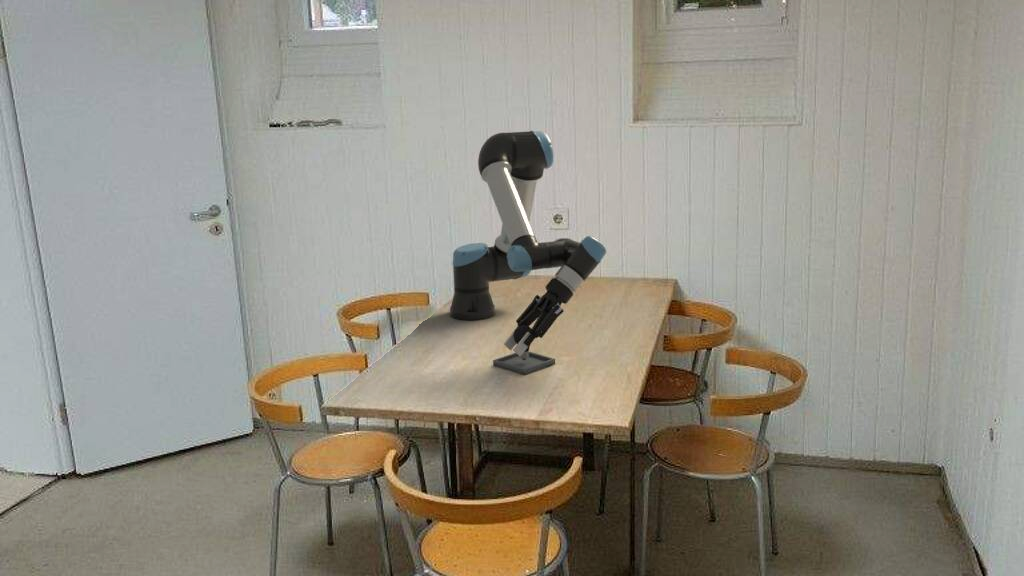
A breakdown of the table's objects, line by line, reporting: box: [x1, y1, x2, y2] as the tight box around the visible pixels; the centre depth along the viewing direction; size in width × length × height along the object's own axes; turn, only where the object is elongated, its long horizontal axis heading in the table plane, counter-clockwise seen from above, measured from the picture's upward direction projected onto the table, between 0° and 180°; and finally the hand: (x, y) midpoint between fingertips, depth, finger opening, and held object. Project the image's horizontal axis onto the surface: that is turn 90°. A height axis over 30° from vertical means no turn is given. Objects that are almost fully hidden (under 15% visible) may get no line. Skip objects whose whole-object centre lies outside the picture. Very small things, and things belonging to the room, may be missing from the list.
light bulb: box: [513, 325, 532, 360], centre depth 251 cm, size 6×6×10 cm
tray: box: [492, 351, 556, 376], centre depth 252 cm, size 12×12×2 cm
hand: (511, 350), depth 250 cm, fingers closed on light bulb, 6 cm apart
